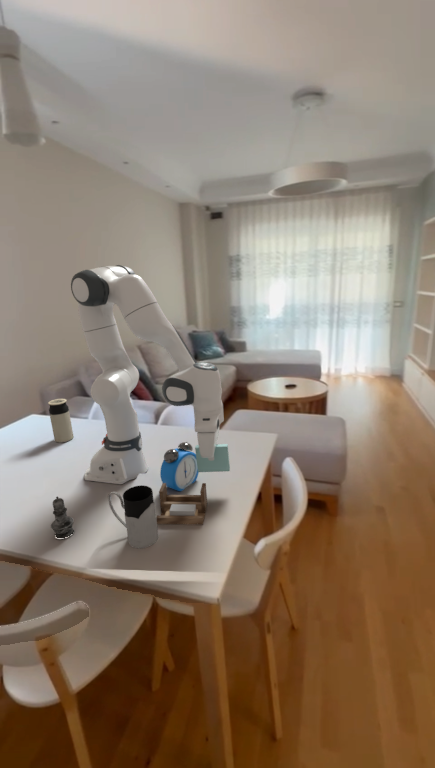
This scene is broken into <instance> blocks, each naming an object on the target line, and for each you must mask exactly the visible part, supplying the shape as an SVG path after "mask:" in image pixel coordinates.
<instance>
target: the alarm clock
mask: <svg viewBox="0 0 435 768" xmlns="http://www.w3.org/2000/svg"><path fill="white" fill-rule="evenodd" d="M177 446H178V447H176V448H172V449H171V448H170V449H168V450H166V451H165V453H164V455H163V461H162V463H161V465H160V471H159V472H160V474H159V475H160V479H161V482H162V484H163V483H166V487H167V488H169V489H172V490H174V491H177V492H182V491H184V490H185V488H187V487H188V486H190V485H192V484H194V483H196V481H197V480H198V479H197V478H198V476H199V473H200V472H198V468H197V460H196V452H194V451H193V450H194V449H193V448H194V447H193V445H192V444H191V443H189V442H188V441H185V442H180V443H179V444H178V445H177Z"/></svg>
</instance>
